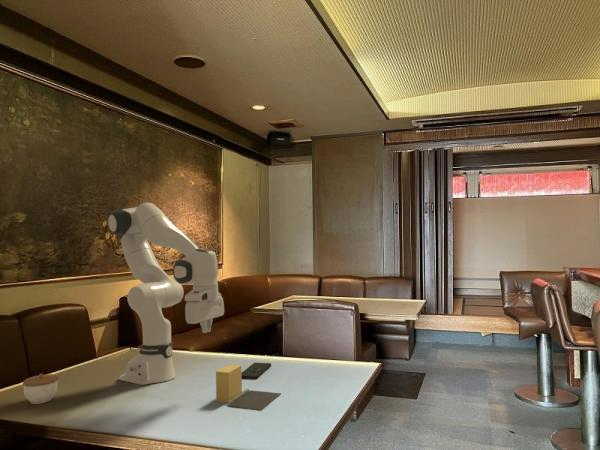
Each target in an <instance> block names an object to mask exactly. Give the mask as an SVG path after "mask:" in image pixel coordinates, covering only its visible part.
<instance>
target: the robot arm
mask: <svg viewBox="0 0 600 450" xmlns="http://www.w3.org/2000/svg"><path fill="white" fill-rule="evenodd" d="M107 224H108V229H109V231H110V232H111V233H112V234H113V235H115V236H116V235H117V236H122V237H121V239H120V244H121V248H122V249H121V250H122V253H123V255H124V259H125V261H126V263H127V266H128V267H129V271H130V272H131V274H132V276H133V277H134V279H136V280H139V281H140V282H141V283H140V284H137V285H134V286H133V287H130V289H129V290H128V293H127V299H126V300H127V303H128V305H129V307H130V309H131V310H133V311H135V312H136V314H137V315H138V317H139V319H140V322H141V328H142V344H140V345H138V346H137V345H136V346H137V348H136V349H137V350H138V349H139V352H138V354H137V355H135V356H134V357H133V358H132V359H130V360H129V361H128V362H127V364H126V366H125V372H124V373H123V374H121V375H120V376H119V379H118V380H119V381H123V382H127V383H132V384H136V385H141V386H143V385H148V384H156V383H157V384H158V383H162V382H166V381H167V382H168V381H171V380H172V379H174V378H176V376H177V375H176V372H175V369H174V361H173V341H172V324H171V321H170V320H169V319H168V318H167V317H166V318H165V317H164V314H163V311H162V309H163V308H169V307H173V306H174V305H176V304H179V303H181V302H182V300H183V298H184V301H185V302H186V303H185V307H184V308H185V309H184V311H185V312H184V313H185V314H184V315H185V321H186V323H187V325H189V324H191V325H195V324H200V327H201V332H202V334H208V333H210V332H211V331H212V330H211V329H212V324H213V321H214V319H215V318H219V317H222V316H224V314H225V302H224V298H223V297H222V293H221V292H220V291H219V283H218V274H219V265H218V258H217V254H216V252H215V251H214V250H212V249H208V248H200V247H199V246H198V245H197V244H196V243H195V241H193V239H192V238H190V237H189V236H188V235H187V234H186V233H185V232H183V231H182V230H180V228H178V227H177V226H176V225H175V224H174V223H173V222H171V220H170V219H169V218H168V217H167V215H166V214H165V213H164V212H163V211H162V210H161V208H159V207H158V206H157V205H155V204H154V203H152V202H143V203H141V204H139V205H138V206H134V207H129V208H122V209H115V210H113V211H112V212H110V214H109V215H108V217H107ZM150 242H151V244H152V245H154V246H158V247H164V248H169V249H172V250H176V251H179V252H181V253H182V254H183V255H184V256H185V257H183V258H180V259H178V260H176V261H175V262H174V264H173V267H172V275H173V278H174V279H173V278H172V277H170V276H169V275H168V274H167V273H166V272H165V271H164V270H163V268H162V267H161V265H160V263H159V262H158V260H157V258H156V257H155V254H154V251H153V250H152V247H151V245H150ZM191 284H192V289H191V290H190V291H189V292H188V293H186V294H185V295H184V293H185V292H184V288H183V286H182V285H191Z"/></svg>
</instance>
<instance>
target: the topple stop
mask: <svg viewBox="0 0 600 450" xmlns="http://www.w3.org/2000/svg"><path fill="white" fill-rule="evenodd" d="M281 395H282V393H280V392H279V393H278V392H273V391H272V392H270V391H261V390H260V391H259V390H250V389H249V388H245V389H244V390H242V392H241V393H240V394H238V395H237V396H235V397H234V398H232V399H231V400H229V401H228V402H226V406H228V407H231V408H236V409H245V410H246V409H247V410H252V411H253V410H255V411H263V410H264V409H265V408H266V407H268V406H269V405H270V404H271V403H273V402H274V401H275V400H276V399H277V398H278V397H279V396H281Z"/></svg>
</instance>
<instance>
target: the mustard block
mask: <svg viewBox="0 0 600 450" xmlns="http://www.w3.org/2000/svg"><path fill="white" fill-rule="evenodd" d="M241 373H242V365H239V364H237V365H236V364H228V365H226V366H224V367H221V368H220V369H218V370H216V371H215V389H216V390H215V391H216V392H215V394H216V395H215V396H216V399H215V400H216V402H219V403H220V402H221V403H227V402H228V401H229V400H231V399H232V398H234V397H235V396H237V395H238V394H240V393H241V392H242V391H243V390H242V388H243V386H242V384H243V383H242V380H243V379H242V375H241Z"/></svg>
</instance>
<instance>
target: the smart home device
mask: <svg viewBox="0 0 600 450" xmlns="http://www.w3.org/2000/svg"><path fill="white" fill-rule="evenodd" d="M271 367H272V363H271V362H253V363H251V364H250V365H249V366H248V367H247V368H245V369H244V370H243V371H241V375H242V380H258V379H259V378H260V377H262V376H263V374H265V373H266V372H267V371H268V370H269V369H270V368H271Z"/></svg>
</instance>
